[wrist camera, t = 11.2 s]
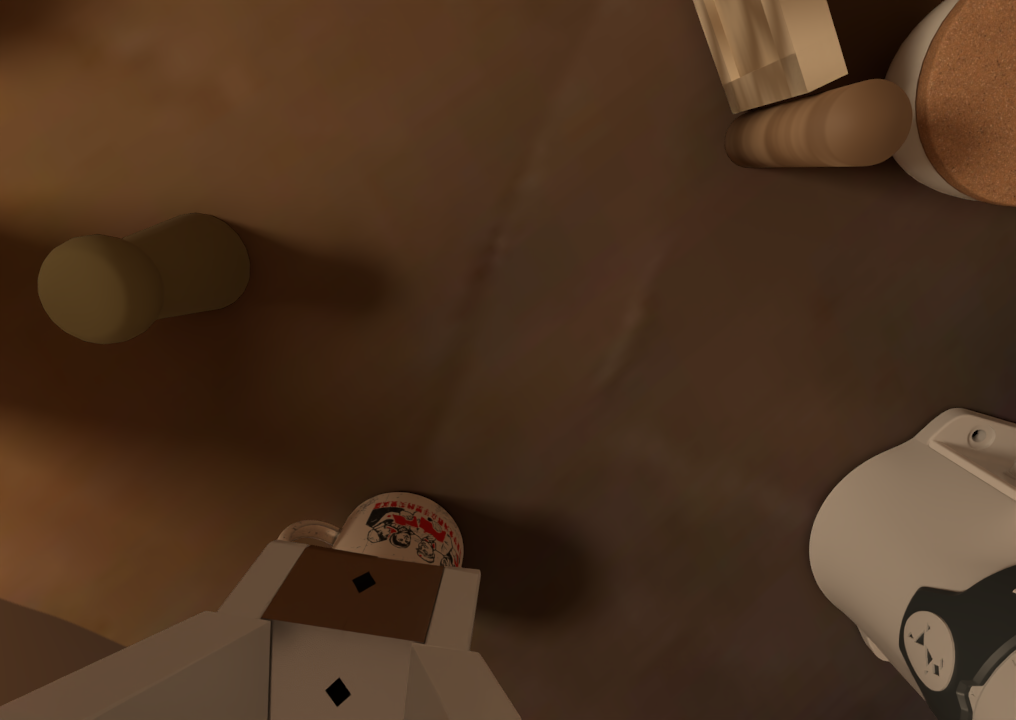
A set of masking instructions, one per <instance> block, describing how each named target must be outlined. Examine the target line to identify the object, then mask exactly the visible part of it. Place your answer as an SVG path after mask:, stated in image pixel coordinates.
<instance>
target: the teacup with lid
mask: <svg viewBox="0 0 1016 720" xmlns="http://www.w3.org/2000/svg"><path fill="white" fill-rule="evenodd" d="M300 538H315V539H318V540H321V541H324V542H326V543H328V544H330V545H332V549H338V550H344V551H349V552H355V553H361V554H367V555H372V556H378V557H380V558H387V559H394V560H401V561H409V562H416V563H423V564H430V565H437V566H444V567H446V566H452V567H461V566H462V561H463V553H464V549H463V540H462V536H461V533H460V530H459V528H458V526H457V524H456V523H455V521H454V520H453V518H452V517H451V516H450V515H449V514H448V513H447V511H445V510H444V509H443V508H442V507H441V506H439V505H438V504H437V503H435V502H433V501H432V500H430V499H428V498H425V497H423V496H420V495H416V494H412V493H406V492H390V493H384V494H381V495H377V496H375V497H372V498H370V499H368V500H366V501H365V502H363V503H362V504H360V505H359V506H358V507H357V508H356V509H355V510H354V511H353V512H352V513H351V514H350V516H349V517H348V519H347V521H346V522H345V524H344V526H343V528H342V529H340V528H338V527H336V526H334V525H332V524H329V523H326V522H323V521H319V520H303V521H299V522H296V523H294V524H291V525H290V526H288V527H287V528H286V529H285V530H284V531H283V532H282V533H281V534H280V536H279V537H278V539H277V540H283V541H289V542H292V541H294V540H296V539H300Z"/></svg>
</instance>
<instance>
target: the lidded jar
mask: <svg viewBox="0 0 1016 720" xmlns="http://www.w3.org/2000/svg"><path fill="white" fill-rule="evenodd" d="M884 80H888V81H891V82H893V83H895V84H897V85H898V86H900V87H901V88H902V89H903V90H904V92H905V93H906V94H907V96H908V98H909V100H910V103H911V106H912V115H913V116H912V124H911V129H910V132H909V134H908V136H907V138H906V140H905V142H904V143H903V145H902V146H901V147H900V149H899V150H898V151H897V152H896V153H895V154H893V155H892V156H893V157H894V159H895V160H896V162H897V163H898V164H899V165H900V166H901V167H902V168H903V169H904V170H905V172H906V173H907V174H909V175H910V176H911V177H913V178H914V179H916V180H917V181H918V182H920V183H922V184H924V185H926V186H928V187H930V188H932V189H934V190H936V191H938V192H941V193H944V194H948V195H951V196H955V197H959V198H963V199H967V200H974V201H982V202H986V203H990V204H994V205H1002V206H1013V207H1016V0H944V1H943V2H942V3H941V4H939V5H938V6H937V7H936V8H934V9H933V10H932V11H931V12H930V13H929V14H928V15H926V16H925V17H924V18H923V19H922V21H921V22H920V23H919V24H918V25H917V26H916V27H915V28H914V29H913V30H912V31H911V33H910V34H909V35H908V37H907V38H906V39H905V41H904V42H903V43H902V45H901V46H900V48H899V50H898V51H897V53H896V55H895V57H894V58H893V60H892V62H891V64H890V66H889V69H888V71H887V74H886V76H885V79H884Z"/></svg>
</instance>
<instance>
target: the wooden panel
mask: <svg viewBox="0 0 1016 720" xmlns="http://www.w3.org/2000/svg"><path fill="white" fill-rule="evenodd" d="M693 2H694V5H695V8H696V11H697V14H698V16H699V19H700V22H701V25H702V28H703V31H704V34H705V36H706V39H707V42H708V45H709V48H710V51H711V54H712V57H713V59H714V62H715V65H716V68H717V71H718V74H719V77H720V79H721V82H722V85H723V88H724V91H725V94H726V97H727V99H728V102H729V105H730V108H731V111H732V114H735V113H739V112H742V111H746V110H749V109H753V108H756V107H760V106H763V105H767V104H770V103H774V102H777V101H781V100H784V99H788V98H791V97H795V96H798V95H802V94H805V93H809V92H811V91H813V90H815V89H817V88H819V87H821V86H823V85H825V84H828V83H830V82H832V81H834V80H836V79H838V78H840V77H842V76H844V75H846V74H848V71H847V68H846V65H845V61H844V58H843V54H842V51H841V48H840V44H839V41H838V38H837V34H836V31H835V27H834V24H833V21H832V17H831V14H830V11H829V7H828V4H827V1H826V0H693Z"/></svg>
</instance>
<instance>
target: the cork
mask: <svg viewBox="0 0 1016 720" xmlns="http://www.w3.org/2000/svg"><path fill="white" fill-rule="evenodd" d="M249 278H250V261H249V257H248V253H247V249H246V247H245V245H244V244H243V242H242V240H241V239H240V237H239V235H238V234H237V233H236V232H235V231H234V230H233V229H232V228H231V227H230V226H229V225H227V224H226V223H225V222H223V221H221V220H219V219H217V218H215V217H213V216H211V215H206V214H201V213H190V214H183V215H179V216H177V217H174V218H172V219H169V220H167V221H164V222H162V223H159V224H157V225H154V226H152V227H149V228H147V229H144V230H142V231H139V232H137V233H134V234H132V235H129V236H127V237H124V238H122V239H121V238H117V237H111V236H106V235H100V234H95V235H87V236H81V237H74V238H72V239H70V240H68V241H66V242H65V243H63V244H61V245H59V246H58V247H56V248H54V249H53V250H52V251H51V252H50V253H49V255H48V256H47V257H46V259H45V260H44V261H43V264H42V266H41V269H40V272H39V276H38V279H37V280H38V295H39V297H40V300H41V303H42V306H43V308H44V310H45V311H46V313H47V314H48V316H49V317H50V318H51V320H52V321H53V322H54V323H55V324H56V325H57V326H59V327H60V328H61V329H62V330H63V331H64V332H66V333H68V334H70V335H72V336H74V337H77V338H79V339H81V340H83V341H85V342H91V343H97V344H112V343H119V342H125V341H128V340H130V339H132V338H134V337H136V336H138V335H140V334H142V333H144V332H145V331H146V330H147V329H148V328H149V327H150V326H151V325H152V324H153V323H154V322H155V320H157V319H163V318H169V317H175V316H181V315H186V314H192V313H198V312H204V311H210V310H216V309H222V308H224V307H226V306H228V305H230V304H232V303H234V302H235V301H236V300H237V299H238V298H239V297H240V296H241V295H242V294H243V293H244V291H245V288H246V286H247V283H248V281H249Z"/></svg>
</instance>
